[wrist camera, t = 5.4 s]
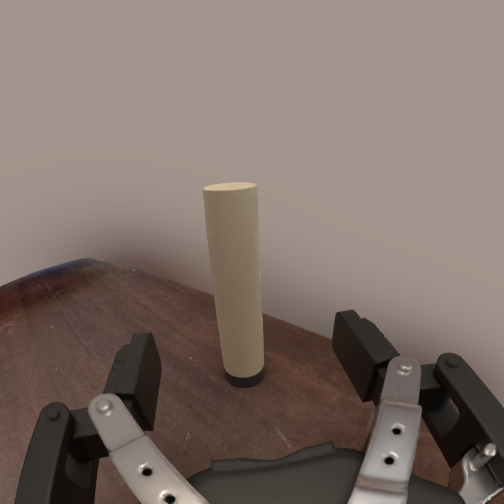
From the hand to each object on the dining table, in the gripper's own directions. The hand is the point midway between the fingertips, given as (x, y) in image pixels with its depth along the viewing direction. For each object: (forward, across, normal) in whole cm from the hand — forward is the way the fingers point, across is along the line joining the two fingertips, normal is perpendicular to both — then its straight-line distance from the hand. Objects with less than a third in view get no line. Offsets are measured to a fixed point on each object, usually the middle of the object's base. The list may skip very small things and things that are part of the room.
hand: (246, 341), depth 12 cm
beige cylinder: (+5, 0, +7) cm, 9 cm away
